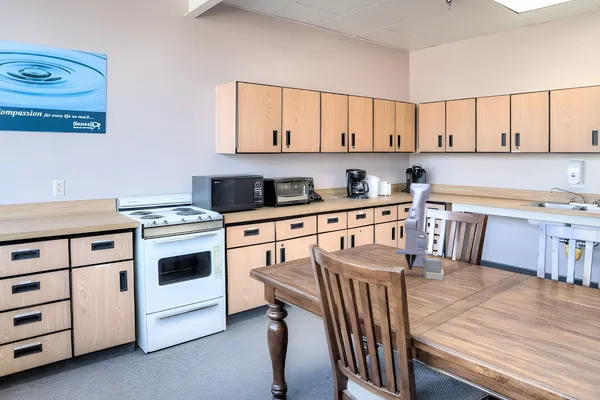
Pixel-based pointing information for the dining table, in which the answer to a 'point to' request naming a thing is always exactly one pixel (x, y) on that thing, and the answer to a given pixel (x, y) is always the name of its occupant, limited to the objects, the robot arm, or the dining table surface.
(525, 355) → the dining table surface
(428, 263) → the medicine box
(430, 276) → the dock
